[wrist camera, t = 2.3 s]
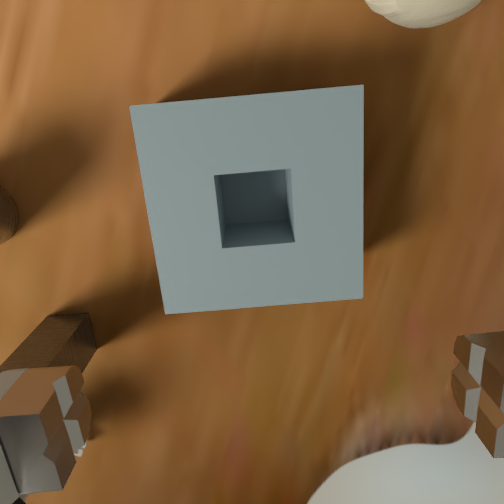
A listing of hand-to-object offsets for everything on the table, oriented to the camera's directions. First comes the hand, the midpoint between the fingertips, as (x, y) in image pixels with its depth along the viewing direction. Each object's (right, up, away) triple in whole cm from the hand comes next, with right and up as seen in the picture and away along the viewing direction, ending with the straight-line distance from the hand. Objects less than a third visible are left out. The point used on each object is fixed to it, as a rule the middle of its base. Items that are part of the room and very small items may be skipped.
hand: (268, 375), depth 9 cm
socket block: (0, +7, +20) cm, 21 cm away
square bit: (-14, -4, +23) cm, 28 cm away
